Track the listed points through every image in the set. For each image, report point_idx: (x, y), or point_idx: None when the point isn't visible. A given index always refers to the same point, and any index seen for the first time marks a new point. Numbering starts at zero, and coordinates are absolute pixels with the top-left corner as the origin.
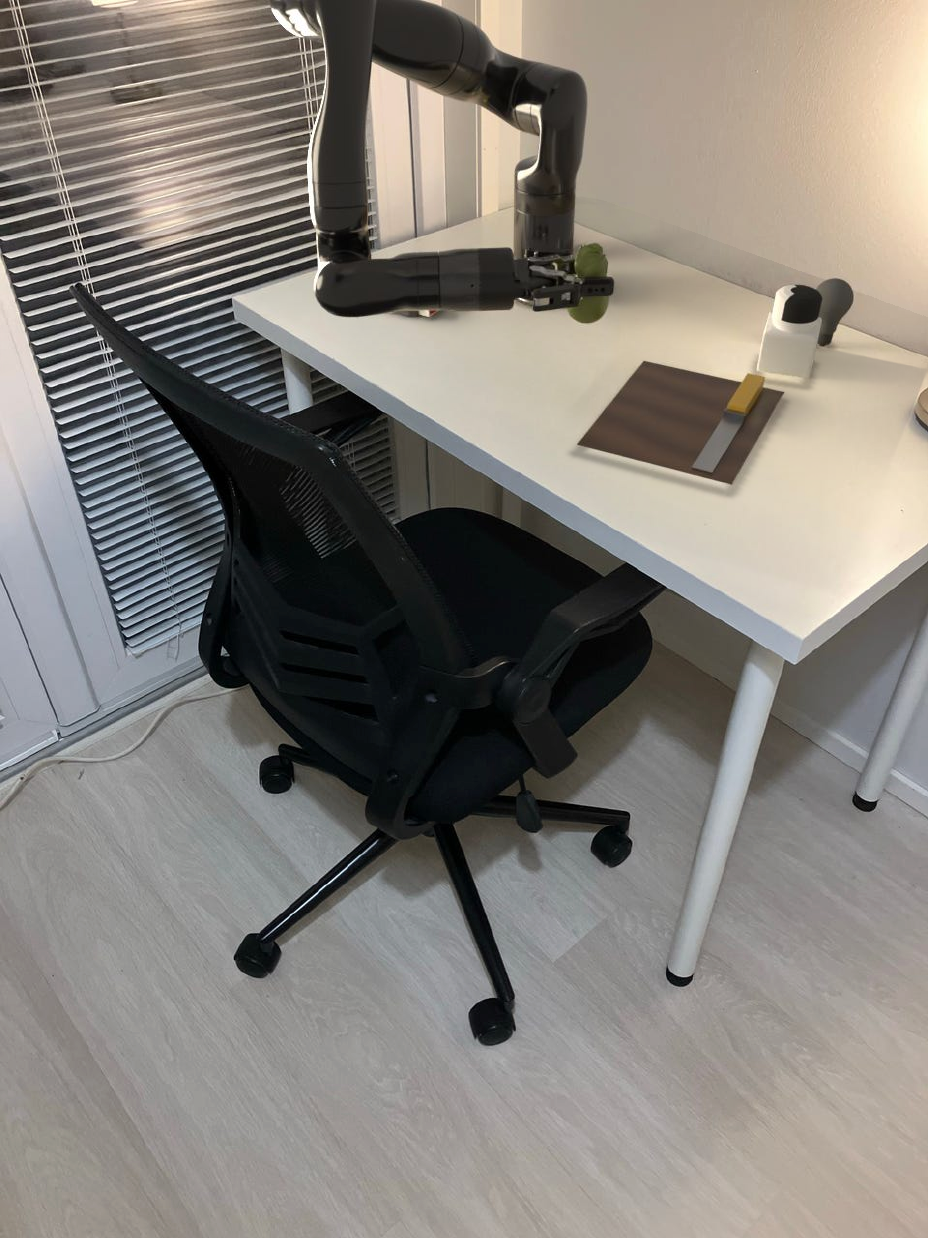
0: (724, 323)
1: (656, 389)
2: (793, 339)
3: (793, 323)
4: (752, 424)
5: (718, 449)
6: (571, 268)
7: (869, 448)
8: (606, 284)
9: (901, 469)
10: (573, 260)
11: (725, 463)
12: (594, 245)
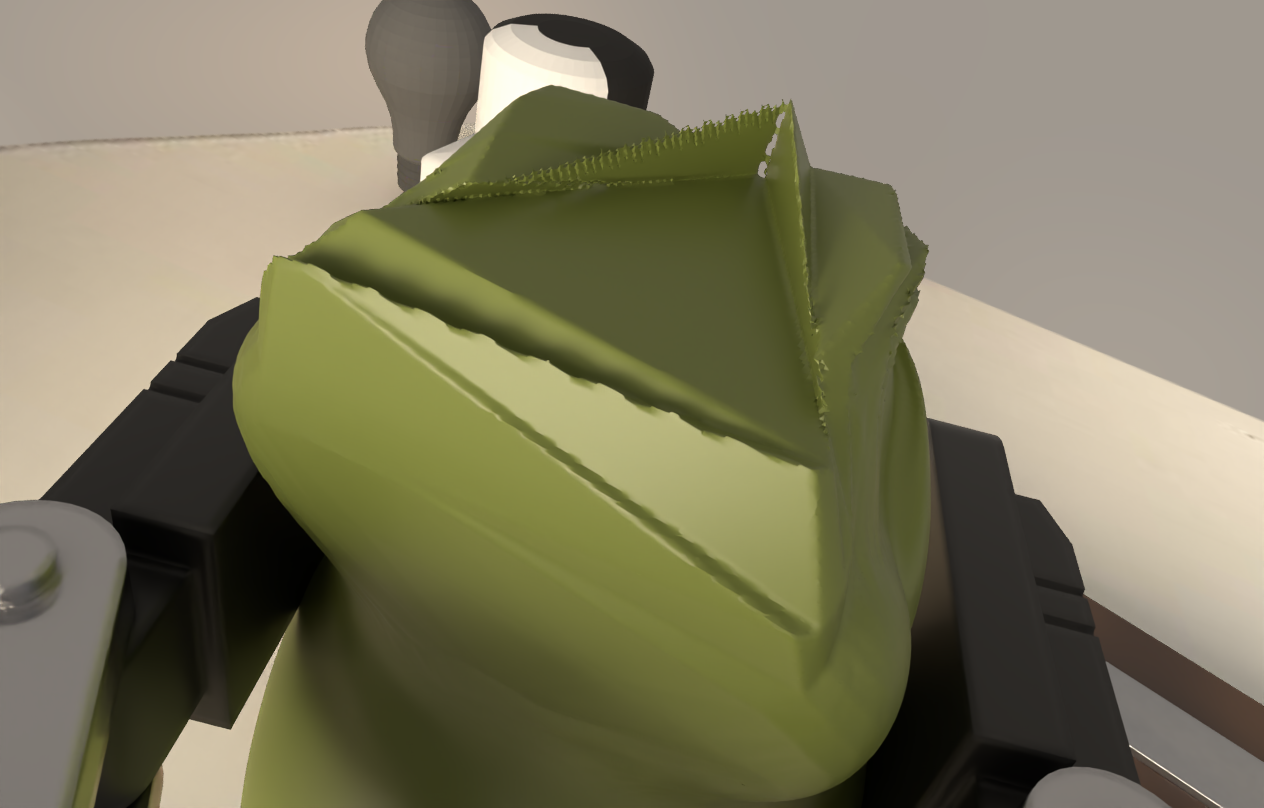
0: (112, 288)
1: None
2: None
3: None
4: None
5: (1133, 700)
6: (124, 752)
7: (972, 359)
8: (1063, 541)
9: (1063, 356)
10: (121, 625)
11: (1213, 719)
12: (570, 143)
